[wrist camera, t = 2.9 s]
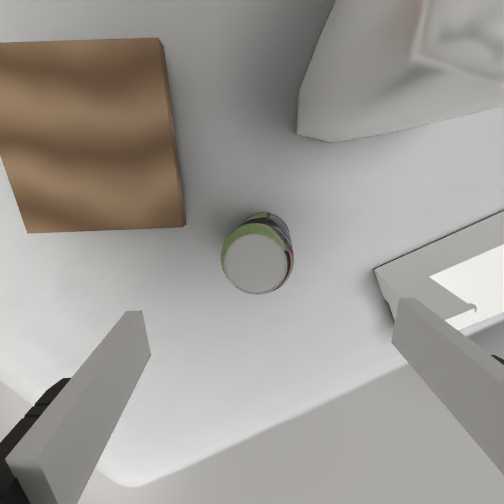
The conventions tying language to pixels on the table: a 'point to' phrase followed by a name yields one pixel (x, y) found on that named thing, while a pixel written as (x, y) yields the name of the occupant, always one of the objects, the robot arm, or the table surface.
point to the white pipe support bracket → (452, 275)
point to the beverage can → (258, 254)
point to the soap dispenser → (401, 66)
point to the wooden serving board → (89, 135)
